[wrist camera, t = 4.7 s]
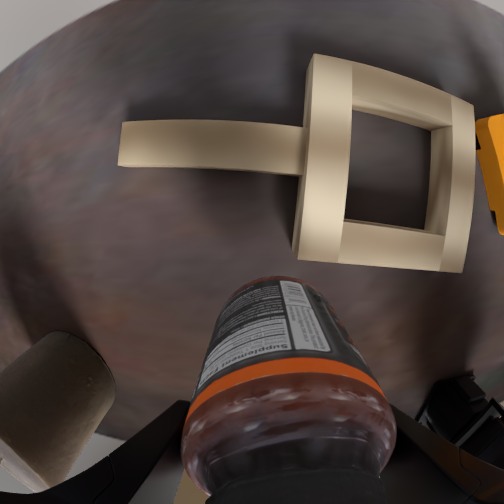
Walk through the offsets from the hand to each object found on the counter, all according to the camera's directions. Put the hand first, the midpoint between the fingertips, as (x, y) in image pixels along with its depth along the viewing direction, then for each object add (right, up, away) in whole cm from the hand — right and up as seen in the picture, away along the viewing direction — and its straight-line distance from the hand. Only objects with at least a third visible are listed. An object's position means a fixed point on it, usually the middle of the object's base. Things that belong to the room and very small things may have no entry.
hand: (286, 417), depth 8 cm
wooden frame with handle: (+3, +12, +11) cm, 16 cm away
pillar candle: (-19, -7, +15) cm, 25 cm away
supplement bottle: (0, +1, +7) cm, 7 cm away
